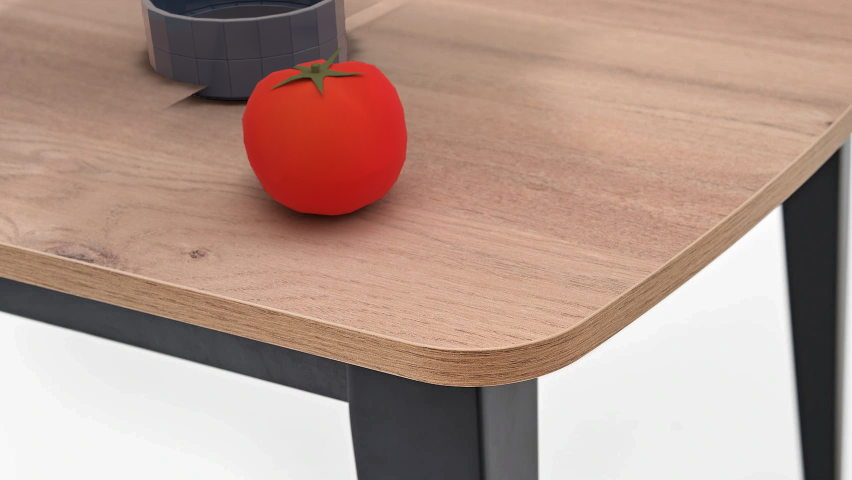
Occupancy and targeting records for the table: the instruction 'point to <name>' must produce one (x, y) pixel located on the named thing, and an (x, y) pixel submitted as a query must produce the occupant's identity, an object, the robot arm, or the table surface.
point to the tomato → (325, 135)
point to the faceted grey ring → (239, 40)
